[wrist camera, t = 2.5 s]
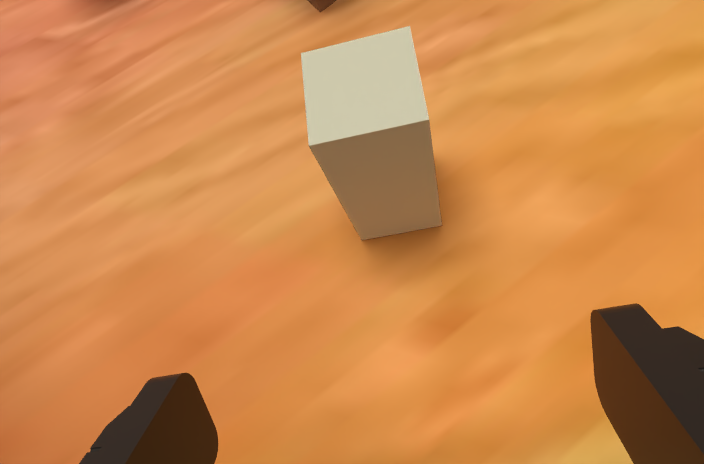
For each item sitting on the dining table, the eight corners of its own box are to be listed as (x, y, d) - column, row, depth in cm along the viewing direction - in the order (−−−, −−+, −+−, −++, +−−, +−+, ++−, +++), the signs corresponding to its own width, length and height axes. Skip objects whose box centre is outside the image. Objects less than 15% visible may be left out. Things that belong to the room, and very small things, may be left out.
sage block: (442, 225, 26) (429, 119, 17) (361, 240, 27) (309, 145, 18) (428, 155, 28) (409, 26, 19) (352, 170, 29) (300, 53, 20)
